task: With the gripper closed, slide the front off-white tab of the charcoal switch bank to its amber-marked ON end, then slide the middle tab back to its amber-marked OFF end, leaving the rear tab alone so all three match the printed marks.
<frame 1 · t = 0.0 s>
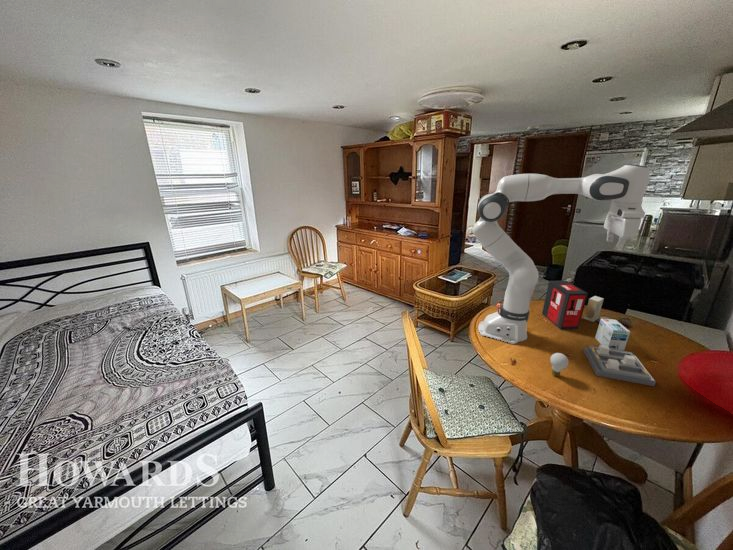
hand: (614, 244, 115), 48 cm above the table, fingers open, 8 cm apart
light bulb: (555, 375, 114), on the table
cleaning product box: (559, 321, 152), on the table
tab middle: (629, 360, 115), point 4 cm above the table, slide at 7.0 cm
tab rear: (603, 350, 122), point 4 cm above the table, slide at 0.0 cm
tab front: (612, 364, 113), point 4 cm above the table, slide at 0.0 cm
skincare box: (590, 319, 154), on the table
light bulb box: (608, 345, 132), on the table
switch bank: (615, 366, 118), on the table
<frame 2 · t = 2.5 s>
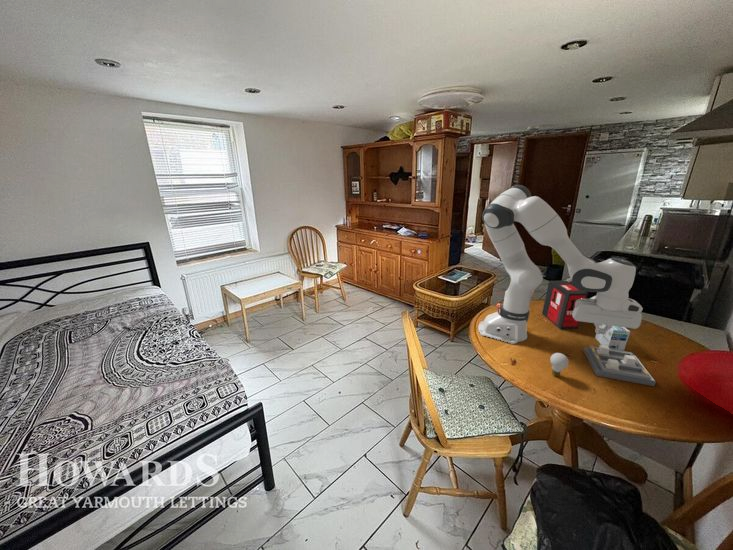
hand: (600, 333, 111), 17 cm above the table, fingers closed
nothing on the table moved.
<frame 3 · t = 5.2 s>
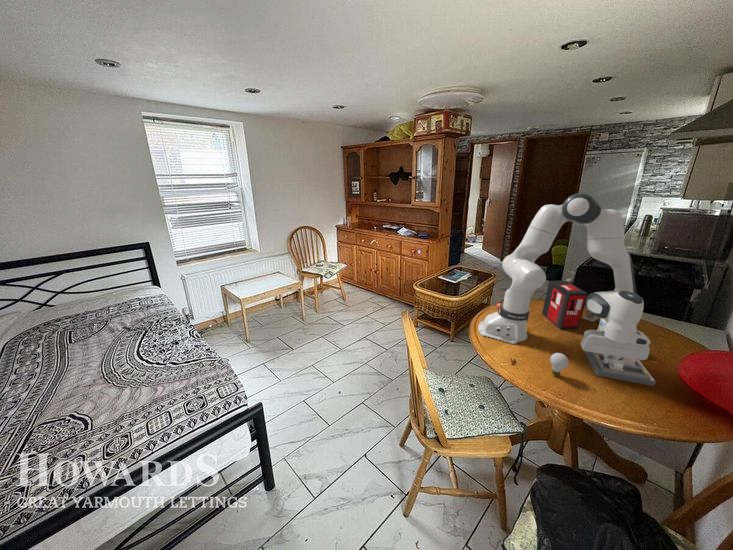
hand: (608, 363, 113), 4 cm above the table, fingers closed
tab front: (616, 365, 113), point 4 cm above the table, slide at 1.3 cm, touching gripper
everything else where it was.
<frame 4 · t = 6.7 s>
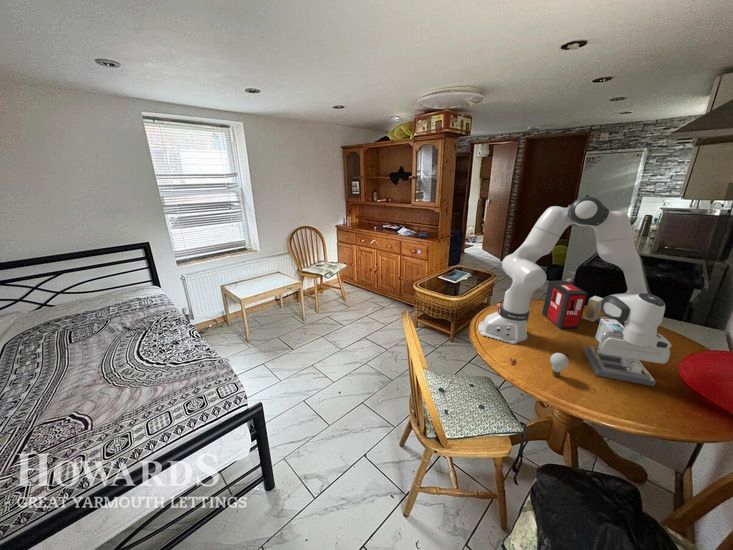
hand: (626, 366, 111), 4 cm above the table, fingers closed
tab front: (635, 368, 111), point 4 cm above the table, slide at 7.0 cm, touching gripper
everything else where it was.
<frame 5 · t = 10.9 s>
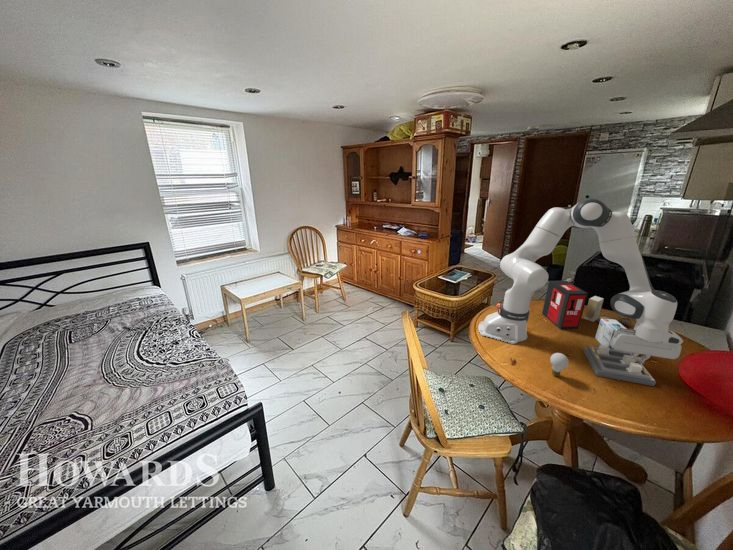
hand: (637, 361, 114), 4 cm above the table, fingers closed
tab middle: (628, 360, 115), point 4 cm above the table, slide at 6.8 cm, touching gripper
tab front: (635, 368, 111), point 4 cm above the table, slide at 7.0 cm
everything else where it was.
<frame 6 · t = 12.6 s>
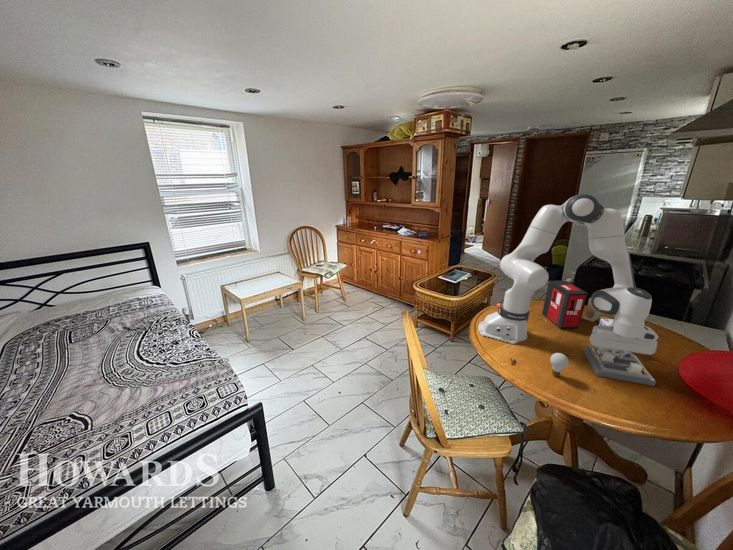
hand: (616, 357, 116), 4 cm above the table, fingers closed
tab middle: (607, 357, 117), point 4 cm above the table, slide at -0.1 cm, touching gripper
everything else where it was.
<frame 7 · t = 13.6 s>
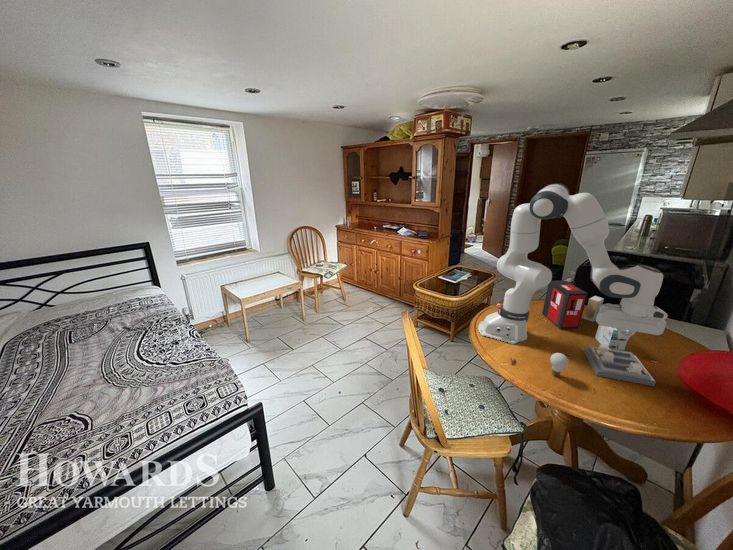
hand: (622, 338, 113), 13 cm above the table, fingers closed
tab middle: (607, 357, 117), point 4 cm above the table, slide at -0.1 cm
everything else where it was.
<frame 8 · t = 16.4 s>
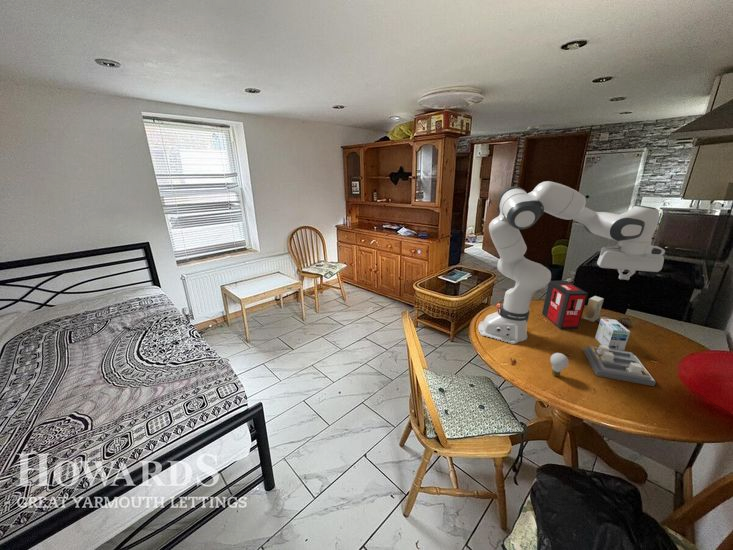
hand: (623, 279, 119), 33 cm above the table, fingers closed
nothing on the table moved.
at the end: tab front slide at 7.0 cm; tab middle slide at -0.1 cm; tab rear slide at 0.0 cm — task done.
